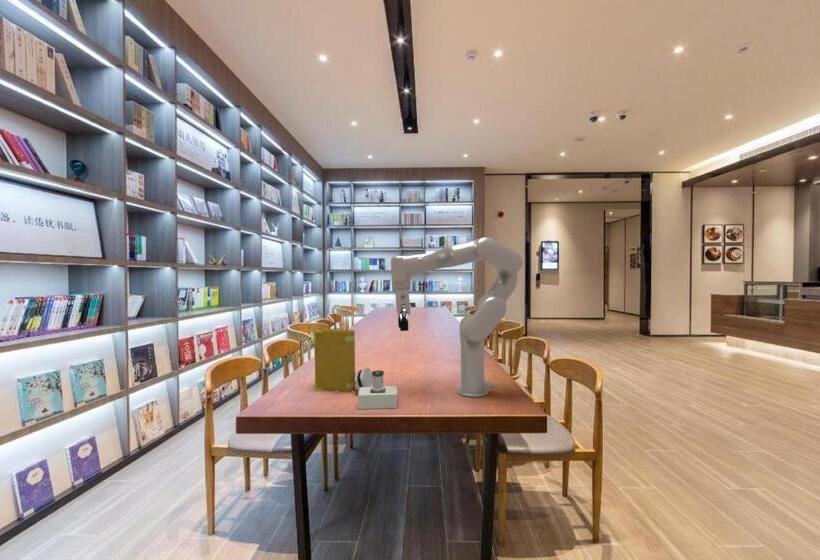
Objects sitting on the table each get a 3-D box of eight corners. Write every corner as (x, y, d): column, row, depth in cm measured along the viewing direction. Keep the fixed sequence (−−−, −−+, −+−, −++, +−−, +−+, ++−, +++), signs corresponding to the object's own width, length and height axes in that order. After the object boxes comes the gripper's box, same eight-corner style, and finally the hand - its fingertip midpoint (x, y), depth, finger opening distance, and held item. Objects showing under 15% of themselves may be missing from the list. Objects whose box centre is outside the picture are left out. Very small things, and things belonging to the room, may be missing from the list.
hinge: (372, 396, 150) (363, 373, 150) (360, 400, 150) (352, 376, 150) (378, 384, 166) (371, 363, 166) (369, 388, 167) (361, 366, 167)
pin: (384, 401, 143) (383, 370, 143) (384, 405, 139) (383, 373, 139) (372, 402, 143) (372, 370, 143) (372, 406, 139) (371, 373, 139)
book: (314, 390, 159) (313, 330, 159) (323, 385, 166) (322, 328, 165) (350, 393, 154) (349, 332, 154) (358, 388, 160) (357, 329, 160)
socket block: (396, 399, 146) (396, 386, 146) (397, 408, 136) (397, 394, 136) (360, 400, 146) (360, 387, 146) (358, 409, 136) (358, 395, 136)
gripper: (412, 286, 144) (415, 331, 144) (408, 285, 161) (410, 325, 161) (393, 287, 143) (395, 332, 143) (390, 286, 160) (392, 326, 161)
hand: (403, 329), depth 152 cm, fingers open, 9 cm apart
